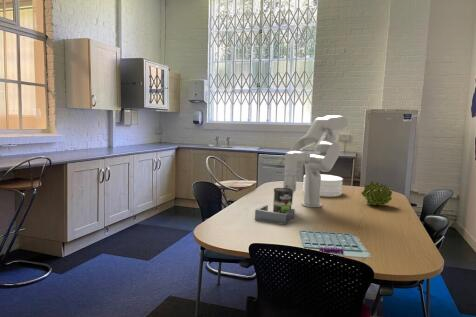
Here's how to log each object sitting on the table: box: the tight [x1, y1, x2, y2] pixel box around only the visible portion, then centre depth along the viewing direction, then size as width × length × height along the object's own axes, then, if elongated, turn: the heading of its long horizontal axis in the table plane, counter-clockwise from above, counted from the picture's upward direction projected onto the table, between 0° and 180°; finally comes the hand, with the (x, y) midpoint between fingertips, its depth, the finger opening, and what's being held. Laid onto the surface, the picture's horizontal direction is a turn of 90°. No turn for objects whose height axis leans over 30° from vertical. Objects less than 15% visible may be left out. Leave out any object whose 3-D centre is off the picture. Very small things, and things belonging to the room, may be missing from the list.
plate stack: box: [302, 173, 344, 197], centre depth 267 cm, size 28×28×12 cm
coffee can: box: [272, 187, 293, 214], centre depth 201 cm, size 10×10×14 cm
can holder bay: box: [254, 204, 296, 225], centre depth 192 cm, size 14×17×5 cm
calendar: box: [299, 230, 373, 259], centre depth 156 cm, size 27×28×2 cm
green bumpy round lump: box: [360, 180, 393, 207], centre depth 231 cm, size 18×16×16 cm
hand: (289, 204), depth 212 cm, fingers closed
